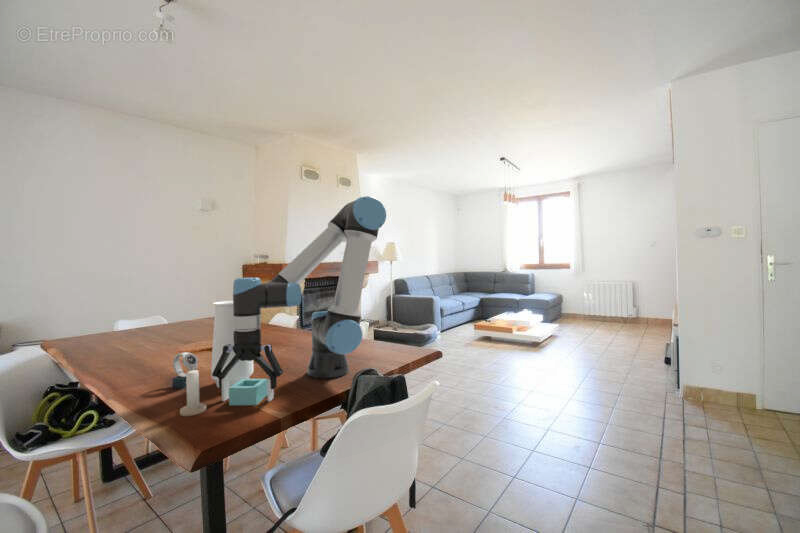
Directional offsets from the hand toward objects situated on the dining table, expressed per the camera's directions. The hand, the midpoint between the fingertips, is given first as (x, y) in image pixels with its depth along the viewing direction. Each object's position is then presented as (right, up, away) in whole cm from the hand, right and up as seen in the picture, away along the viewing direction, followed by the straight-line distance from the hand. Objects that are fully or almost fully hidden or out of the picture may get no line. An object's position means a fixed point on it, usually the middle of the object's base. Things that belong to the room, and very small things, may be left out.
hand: (248, 399), depth 104 cm
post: (-12, 0, -8) cm, 14 cm away
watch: (-27, -1, +14) cm, 31 cm away
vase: (-11, 0, +14) cm, 18 cm away
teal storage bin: (0, 0, 0) cm, 0 cm away
